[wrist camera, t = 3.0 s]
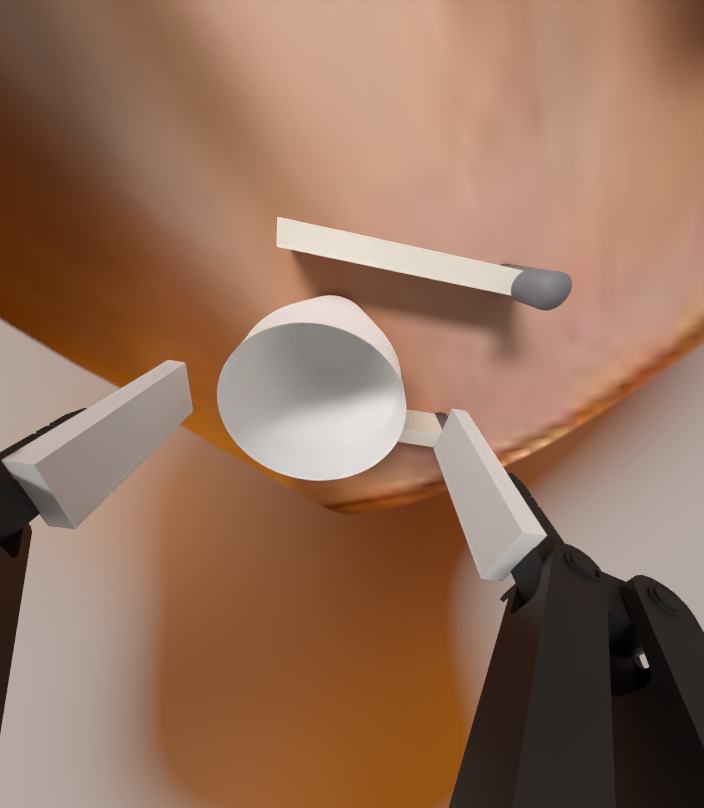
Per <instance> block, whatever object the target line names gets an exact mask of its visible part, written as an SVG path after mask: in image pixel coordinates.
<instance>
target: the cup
mask: <svg viewBox="0 0 704 808" xmlns="http://www.w3.org/2000/svg"><path fill="white" fill-rule="evenodd" d="M217 403H218V408H219V412H220V416H221V419H222V421H223V424H224V426H225V428H226V429H227V431H228V433H229V434H230V436H231V437H232V439H233V440H234V441H235V442H236V444H237V445H238V446H239V447H240V448H241V449H242V450H243V451H244V452H245V453H246V454H247V455H249V456H250V457H251V458H253V459H254V460H255V461H257V462H258V463H260V464H262V465H263V466H265V467H267V468H269V469H271V470H273V471H275V472H278V473H281V474H284V475H287V476H290V477H294V478H299V479H305V480H320V481H321V480H335V479H341V478H346V477H349V476H353V475H356V474H358V473H361V472H363V471H365V470H367V469H369V468H371V467H372V466H374V465H375V464H377V463H378V462H379V461H381V460H382V459H383V458H384V457H385V456H386V455H387V454H388V453H389V452H390V451H391V450H392V449H393V447H394V446H395V444H396V443H397V441H398V439H399V438H400V435H401V433H402V431H403V428H404V424H405V419H406V398H405V393H404V388H403V384H402V377H401V370H400V365H399V362H398V358H397V356H396V353H395V351H394V349H393V347H392V346H391V344H390V342H389V340H388V339H387V337H386V336H385V335H384V333H383V332H382V331H381V330H380V329H379V328H378V327H377V325H376V324H375V323H374V322H373V321H372V320H371V319H370V318H369V317H368V316H367V315H366V314H365V313H364V312H363V310H362V309H361V308H360V307H359V306H358V305H356V304H355V303H354V302H352V301H350V300H349V299H346V298H344V297H341V296H335V295H326V296H320V297H317V298H313V299H309V300H305V301H301V302H298V303H294V304H291V305H287V306H285V307H282V308H280V309H278V310H276V311H274V312H272V313H271V314H269V315H267V316H266V317H265V318H263V319H262V320H261V321H260V322H259V323H257V324H256V325H255V326H254V328H253V329H252V330H251V331H250V333H249V334H248V335H247V337H246V338H245V340H244V341H243V342H242V343H241V344H240V345H239V346H238V347H237V348H236V349H235V350H234V351H233V353H232V354H231V355H230V356H229V358H228V359H227V361H226V362H225V364H224V367H223V369H222V371H221V374H220V377H219V381H218V386H217Z"/></svg>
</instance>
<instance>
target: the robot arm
mask: <svg viewBox="0 0 704 808" xmlns="http://www.w3.org/2000/svg"><path fill="white" fill-rule="evenodd" d="M192 412H193V406H192V400H191V394H190V388H189V382H188V376H187V370H186V364H185V363H184V362H178V361H172V360H167V361H166V362H164V363H162V364H161V365H159V366H157V367H156V368H154V369H152V370H151V371H149V372H147V373H146V374H144V375H142V376H141V377H139V378H137V379H136V380H134V381H132V382H131V383H129V384H127V385H126V386H124V387H122V388H121V389H119V390H117V391H115V392H114V393H112V394H110V395H109V396H107V397H105V398H104V399H102V400H101V401H99V402H98V403H96V404H94V405H92V406H90V407H89V408H83V409H80V410H78V411H75V412H72V413H69V414H66V415H64V416H62V417H61V418H59V419H57V420H55V421H54V422H52V423H50V425H49V426H45V427H43V428H42V429H40V430H38V431H36V434H31V435H29V436H28V437H26V438H24V439H22V440H21V441H19V442H17V443H16V444H14V445H12V446H10V447H9V448H7V449H5V450H3V451H2V452H0V732H1V725H2V719H3V713H4V706H5V700H6V694H7V687H8V681H9V674H10V668H11V662H12V655H13V649H14V643H15V636H16V630H17V624H18V617H19V611H20V605H21V598H22V591H23V586H24V579H25V573H26V566H27V560H28V554H29V547H30V541H31V535H32V530H31V526H30V525H29V522H30V521H31V520H33V519H34V518H35V517H36V516H37V515H38V514H40V515H41V517H42V518H43V519H44V521H45V522H46V524H47V525H48V526H53V527H61V528H69V529H75V528H76V527H78V526H79V525H80V524H81V523H82V522H83V521H84V520H85V519H86V518H87V517H88V516H89V515H90V514H91V513H92V512H93V511H94V510H95V509H96V508H97V507H98V506H99V505H100V504H101V503H102V502H103V501H104V500H105V499H106V498H107V497H108V496H109V495H110V494H111V492H113V491H114V490H115V489H116V488H117V487H118V486H119V485H120V484H121V483H122V481H124V480H125V479H126V478H127V477H128V476H129V475H130V474H131V473H132V472H133V471H134V470H135V469H136V468H137V467H138V466H139V465H140V464H141V463H142V462H143V461H144V460H145V459H146V458H147V457H148V455H150V454H151V453H152V452H153V451H154V450H155V449H156V448H157V446H159V445H160V444H161V443H162V442H163V441H164V440H165V439H166V438H167V437H168V435H170V434H171V433H172V432H173V431H174V430H175V429H176V428H177V427H178V426H179V425H180V424H181V423H182V422H183V421H184V420H185V419H186V418H187V417H188V416H189V415H190V414H191V413H192ZM434 452H435V455H436V457H437V460H438V463H439V466H440V468H441V471H442V474H443V477H444V479H445V482H446V485H447V487H448V490H449V493H450V496H451V498H452V501H453V504H454V507H455V509H456V512H457V515H458V518H459V520H460V523H461V526H462V529H463V531H464V534H465V537H466V539H467V542H468V545H469V548H470V550H471V553H472V556H473V559H474V561H475V564H476V567H477V569H478V572H479V575H480V578H481V579H487V580H495V581H503V580H504V579H505V577H506V576H507V575H509V573H510V572H511V573H512V575H513V578H514V580H515V582H516V583H515V584H514V585H513V586H512V587H511V588H510V589H509V590H508V591H507V592H506V593H505V594H504V595H503V596H502V597H501V599H500V600H502V601H503V602H504V601H505V600H506V599H507V598H508V601H507V605H506V609H505V612H504V616H503V619H502V623H501V626H500V630H499V633H498V637H497V640H496V644H495V647H494V651H493V654H492V658H491V661H490V665H489V668H488V672H487V675H486V679H485V682H484V686H483V689H482V693H481V696H480V700H479V703H478V707H477V711H476V714H475V717H474V721H473V724H472V728H471V731H470V735H469V739H468V742H467V746H466V750H465V753H464V756H463V760H462V763H461V767H460V770H459V774H458V777H457V781H456V784H455V788H454V791H453V795H452V798H451V802H450V805H449V808H704V632H703V630H702V629H701V627H700V625H699V623H698V621H697V620H696V618H695V616H694V615H693V614H692V612H691V611H690V609H689V608H688V607H687V605H686V604H685V603H684V602H683V601H682V600H681V599H680V598H679V597H678V596H677V595H676V594H675V593H674V592H672V591H671V590H669V588H667V587H666V586H664V585H663V584H661V583H659V582H658V581H656V580H654V579H652V578H649V577H647V576H644V575H636V576H634V577H633V578H632V579H630V580H628V581H627V582H625V581H622V580H620V579H618V578H616V577H613V576H611V575H608V574H606V573H604V572H602V571H601V570H600V569H599V567H598V566H597V565H596V564H595V562H594V561H593V560H592V559H591V558H590V557H589V556H587V555H586V554H585V553H583V552H582V551H581V550H579V549H577V548H575V547H573V546H571V545H568V544H565V543H564V542H563V540H562V539H561V538H560V536H559V535H558V533H557V532H556V530H555V529H554V527H553V526H552V525H551V523H550V521H549V520H548V519H547V517H546V516H545V514H544V513H543V511H542V510H541V508H540V507H538V504H537V503H536V501H535V500H534V498H533V497H531V494H530V493H529V491H528V490H527V488H526V487H525V485H524V484H523V483H522V482H521V481H520V480H519V479H518V478H517V477H516V476H514V475H513V474H512V473H506V471H505V470H504V468H503V467H502V465H501V464H500V462H499V460H498V459H497V457H496V456H495V454H494V453H493V451H492V450H491V448H490V447H489V445H488V443H487V442H486V440H485V439H484V437H483V436H482V434H481V433H480V431H479V430H478V428H477V427H476V425H475V423H474V422H473V420H472V419H471V417H470V416H469V414H468V413H467V411H463V410H457V409H452V410H451V412H450V414H449V417H448V419H447V421H446V423H445V425H444V428H443V430H442V432H441V434H440V436H439V438H438V441H437V443H436V445H435V447H434ZM644 653H645V656H646V659H647V661H648V664H649V668H644V667H643V665H642V663H641V660H640V657H639V655H642V654H644Z"/></svg>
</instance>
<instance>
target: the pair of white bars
mask: <svg viewBox="0 0 704 808" xmlns="http://www.w3.org/2000/svg"><path fill="white" fill-rule="evenodd" d="M277 247H281V248H286V249H290V250H295V251H300V252H305V253H310V254H314V255H319V256H324V257H329V258H334V259H338V260H343V261H348V262H353V263H358V264H362V265H367V266H372V267H377V268H381V269H386V270H391V271H396V272H401V273H405V274H410V275H415V276H420V277H425V278H429V279H434V280H439V281H444V282H448V283H453V284H458V285H463V286H468V287H472V288H477V289H482V290H487V291H492V292H494V293H497V294H500V295H502V296H505V297H508V298H510V299H513V300H516V301H518V302H521V303H524V304H527V305H529V306H532V307H535V308H537V309H540V310H551V309H554V308H556V307H558V306H559V305H560V304H562V303H563V302H564V301H565V300H566V298H567V297H568V295H569V293H570V291H571V287H572V281H571V278H570V277H569V275H567V274H566V273H563V272H556V271H550V270H543V269H537V268H530V267H524V266H517V265H511V264H502V265H496V264H491V263H487V262H482V261H478V260H473V259H469V258H464V257H459V256H455V255H450V254H446V253H441V252H437V251H432V250H427V249H423V248H418V247H414V246H409V245H405V244H400V243H395V242H391V241H386V240H382V239H377V238H373V237H368V236H363V235H359V234H354V233H350V232H345V231H341V230H336V229H331V228H327V227H322V226H318V225H313V224H309V223H304V222H299V221H295V220H290V219H286V218H281V217H277ZM447 419H448V416H447V415H446V414H444V413H435V414H433V413H427V412H421V411H415V410H409V409H406V419H405V424H404V428H403V431H402V433H401V435H400V438H399V439H398V441H397V442H402V443H409V444H416V445H422V446H429V447H435V445H436V443H437V441H438V438H439V436H440V434H441V432H442V430H443V428H444V425H445V423H446V421H447Z"/></svg>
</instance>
